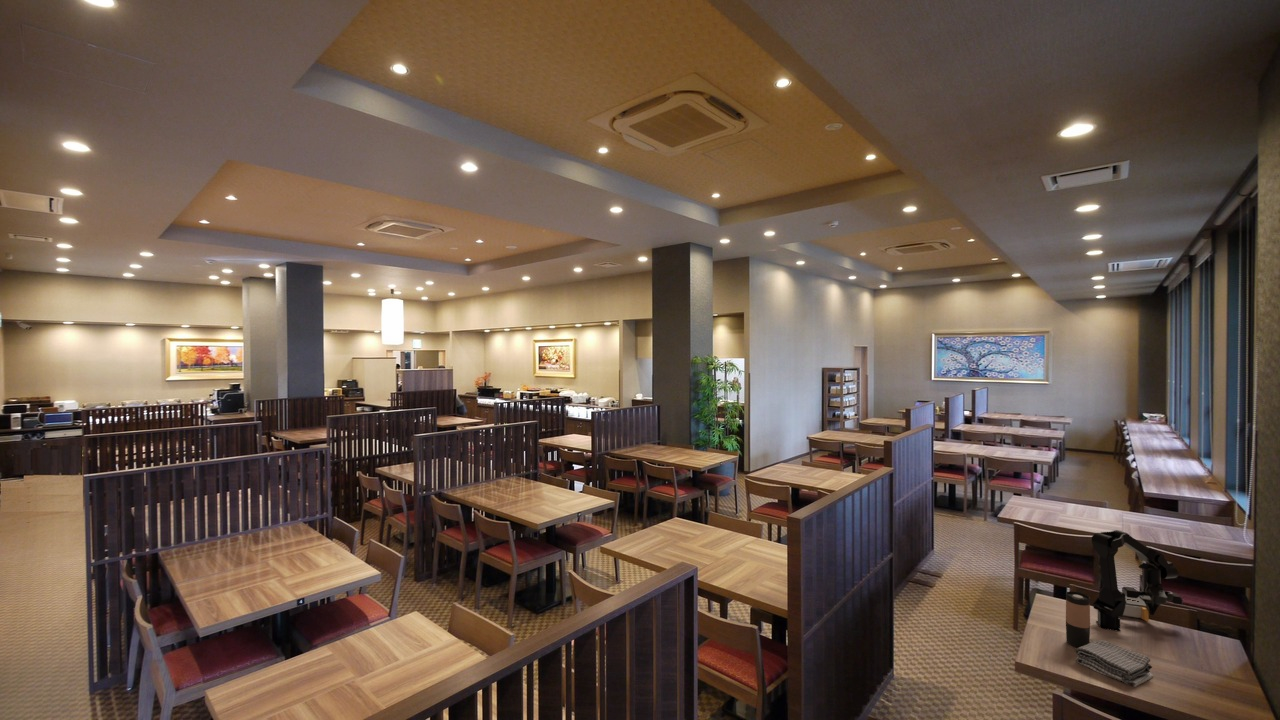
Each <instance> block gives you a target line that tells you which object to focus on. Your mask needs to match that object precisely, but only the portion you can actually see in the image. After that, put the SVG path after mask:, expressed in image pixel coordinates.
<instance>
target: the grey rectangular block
mask: <svg viewBox="0 0 1280 720" xmlns="http://www.w3.org/2000/svg"><path fill="white" fill-rule="evenodd" d="M1123 615H1125V616H1124V617H1128V616H1132V617H1131V618H1135V617H1139V618H1138V619H1142V620H1143V621H1145V622H1149V621H1150V618H1149V617H1150V616H1149V615H1150V613H1149V611H1148V610H1147V609H1146V608H1145V607H1142V606H1135V605H1128V604H1125V610H1124V613H1123Z"/></svg>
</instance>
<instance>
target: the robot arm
mask: <svg viewBox="0 0 1280 720" xmlns="http://www.w3.org/2000/svg"><path fill="white" fill-rule="evenodd" d="M1091 544H1092V546H1093V549H1094V550H1095V551H1096V553H1097V554H1098V557H1099V558H1098V559H1099V566H1100V567H1099V568H1100V575H1101V583H1102V588H1100V590H1099V591H1098V597H1097V599H1096V600H1094V602H1093V603H1092V606H1093V607H1092V608H1093V609H1094V610H1097V620H1096V621H1095V623H1096V624H1097V625H1098V626H1099V628H1100V629H1101V630H1102V629H1103V630H1108V629H1109V630H1110V629H1111V630H1110V631H1115V630H1117V631H1116V632H1121V619H1120V617H1124V616H1123V613H1124V610H1125V603H1127V602H1126V600H1125V595H1126V596H1127V597H1130V598H1138V597H1139V598H1140V599H1142V600H1143V601H1144V602H1145V604H1146V606H1147V609H1148V611H1149V615H1150V616H1154V615H1155V614H1156V612H1157V610H1158V608H1159V606H1161V605H1162V604H1164V605H1165V604H1167V603H1168V601H1169V602H1171V603H1173V604H1176V605H1184V600H1183V598H1182V596H1180V595H1178V594H1177V593H1176V592H1172V591H1168V590H1164V589H1163V584H1162V580H1164V579H1177V578H1178V577H1179V571H1178V568H1177V567H1176V566H1174V563H1173V562H1171V561H1168V560H1166V558H1165V555H1164V554H1163V553H1162V552H1161V551H1160V552H1159V551H1157V550H1155V549H1152V548H1150V547H1148V546H1146V545H1144V544H1143V543H1141V542H1140V541H1139V540H1137V539H1135V538H1134V537H1133V536H1132V535H1131V534H1129V533H1128V532H1125V531H1122V530H1117V529H1115V530H1112V531H1101V532H1096V533H1094V534H1093V535H1092V536H1091ZM1124 546H1126V547H1128V548H1129V549H1130V550H1132V551H1133V552H1135V553H1136V556H1137V557H1138V558H1139V560H1141V561H1143V562H1142V563H1141V564H1139V565H1138V568H1139V569H1142V578H1141V581H1142V587H1141V590H1137V589H1135V587H1133V586H1132V587H1129V586H1123V587H1121V591H1120V590H1119V586H1118V579H1117V570H1116V569H1117V568H1116V563H1115V562H1116V561H1115V555H1116V554H1117V553H1118V552H1119V548H1121V547H1124ZM1145 562H1146V563H1145ZM1148 563H1149V564H1148ZM1161 579H1162V580H1161ZM1105 606H1106V607H1108V608H1110V609H1112V610H1110V609H1108V608H1106V607H1105Z"/></svg>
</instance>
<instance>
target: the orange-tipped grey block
mask: <svg viewBox="0 0 1280 720" xmlns="http://www.w3.org/2000/svg"><path fill="white" fill-rule="evenodd" d="M1125 598H1126V599H1125V600H1126V602H1127V603H1125V604H1128V605H1135V606H1142V607H1145V608H1146V609H1147V606H1146V604H1145V602H1144V601H1143V600H1142V599H1141V598H1140V597H1138V598H1130V597H1127V596H1126V595H1125ZM1127 599H1131V600H1127ZM1132 600H1136V601H1132ZM1137 601H1139V602H1137ZM1105 607H1106V606H1105ZM1106 608H1108V607H1106ZM1108 609H1110V608H1108ZM1110 610H1112V609H1110ZM1147 610H1148V609H1147ZM1122 617H1126V616H1125V615H1123V616H1122ZM1127 617H1129V618H1133V617H1132V616H1127ZM1134 618H1137V619H1140V618H1139V617H1134Z"/></svg>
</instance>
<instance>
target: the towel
mask: <svg viewBox="0 0 1280 720" xmlns="http://www.w3.org/2000/svg"><path fill="white" fill-rule="evenodd" d="M1074 652H1075V654H1076V655H1077V657H1076V659H1075V663H1077V664H1079V665H1080V666H1081V665H1082V666H1084V667H1086V668H1088V669H1090V670H1093V671H1094V672H1096V673H1098V674H1101V675H1102V676H1103V675H1104V676H1106V677H1109V678H1113V679H1115V680H1116V679H1117V680H1116V681H1118V682H1121V681H1122V682H1121V683H1123V682H1124V684H1126V685H1129V686H1131V685H1132V687H1133V688H1136V687H1138V686H1140V685H1141V684H1143V683H1145V682H1147V680H1148V681H1149V680H1151V679H1153V678H1154V675H1153V673H1151V671H1150V670H1151V669H1152V668H1153V666H1152V664H1150V662H1151V659H1150V657H1149V656H1147V655H1144V654H1141V653H1138V652H1135V651H1133V650H1130V649H1128V648H1126V647H1123V646H1121V645H1117V644H1115V643H1112V642H1110V641H1107V640H1104V639H1098V640H1094V641H1091V642H1090V643H1089V644H1087V645H1084V646H1081V647H1079V648H1075V650H1074Z"/></svg>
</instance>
